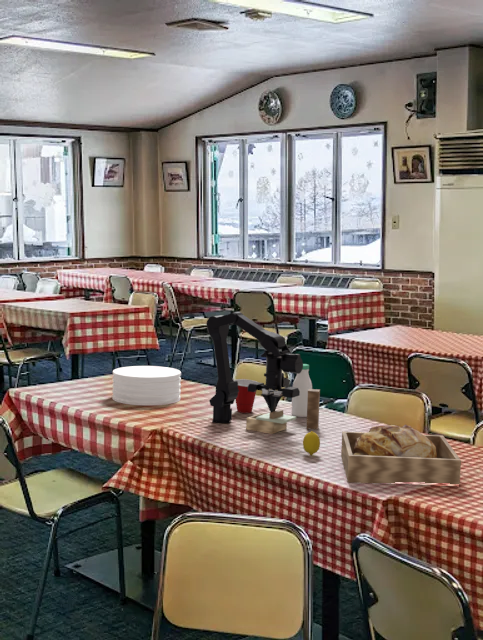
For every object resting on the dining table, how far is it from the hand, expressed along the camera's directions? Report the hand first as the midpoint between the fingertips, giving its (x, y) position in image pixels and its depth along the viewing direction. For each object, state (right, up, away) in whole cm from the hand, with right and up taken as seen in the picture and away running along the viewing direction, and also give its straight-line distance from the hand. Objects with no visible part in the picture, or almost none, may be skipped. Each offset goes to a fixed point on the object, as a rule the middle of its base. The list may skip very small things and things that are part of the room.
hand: (272, 413), depth 332 cm
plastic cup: (-10, -3, +31) cm, 32 cm away
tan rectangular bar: (+15, -6, +6) cm, 17 cm away
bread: (+36, -13, -46) cm, 60 cm away
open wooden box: (-2, -6, +2) cm, 7 cm away
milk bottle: (+12, -4, +27) cm, 30 cm away
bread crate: (+37, -13, -48) cm, 61 cm away
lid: (+1, -2, -1) cm, 2 cm away
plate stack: (-50, +1, +51) cm, 71 cm away
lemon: (+11, -11, -33) cm, 36 cm away
